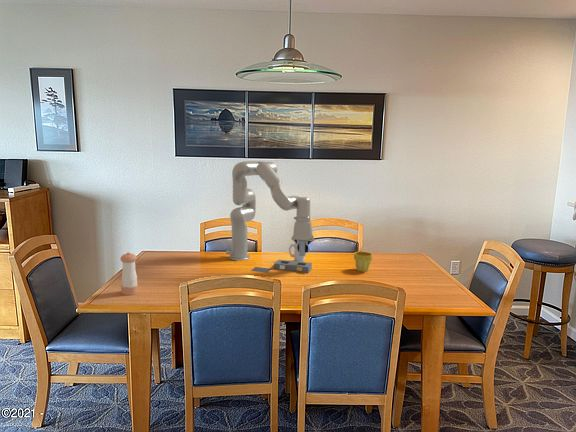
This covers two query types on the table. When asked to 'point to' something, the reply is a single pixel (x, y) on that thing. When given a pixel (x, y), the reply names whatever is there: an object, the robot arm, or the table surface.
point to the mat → (261, 269)
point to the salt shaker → (129, 274)
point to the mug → (296, 254)
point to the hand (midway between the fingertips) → (302, 251)
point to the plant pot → (362, 260)
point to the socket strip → (293, 266)
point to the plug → (302, 248)
